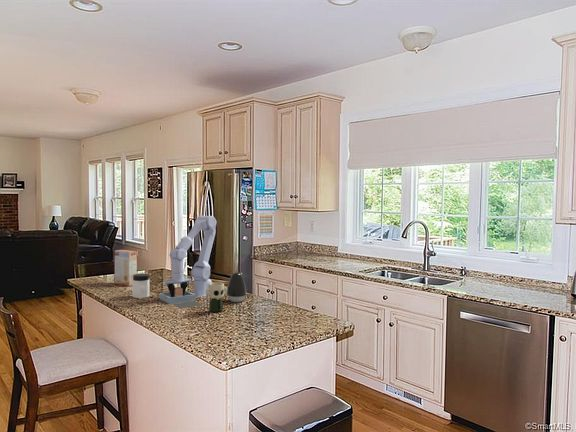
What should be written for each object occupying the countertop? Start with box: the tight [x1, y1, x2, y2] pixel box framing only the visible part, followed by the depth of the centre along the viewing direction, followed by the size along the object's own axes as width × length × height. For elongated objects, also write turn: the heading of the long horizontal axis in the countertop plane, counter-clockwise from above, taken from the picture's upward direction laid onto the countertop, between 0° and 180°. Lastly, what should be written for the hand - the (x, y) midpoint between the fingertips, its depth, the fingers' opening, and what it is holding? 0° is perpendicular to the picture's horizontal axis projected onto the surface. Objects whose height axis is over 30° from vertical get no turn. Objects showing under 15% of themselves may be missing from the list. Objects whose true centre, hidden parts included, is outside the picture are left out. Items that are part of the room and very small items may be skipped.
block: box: [174, 286, 183, 297], centre depth 223 cm, size 4×4×6 cm
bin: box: [158, 289, 197, 305], centre depth 223 cm, size 14×14×4 cm
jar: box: [131, 273, 151, 299], centre depth 229 cm, size 9×8×12 cm
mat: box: [172, 301, 203, 310], centre depth 213 cm, size 12×10×1 cm
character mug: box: [205, 282, 228, 313], centre depth 203 cm, size 11×7×13 cm, turn 127°
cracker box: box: [114, 249, 138, 287], centre depth 261 cm, size 14×6×21 cm, turn 58°
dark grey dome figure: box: [226, 271, 247, 303], centre depth 224 cm, size 10×10×15 cm
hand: (177, 297), depth 223 cm, fingers open, 5 cm apart
